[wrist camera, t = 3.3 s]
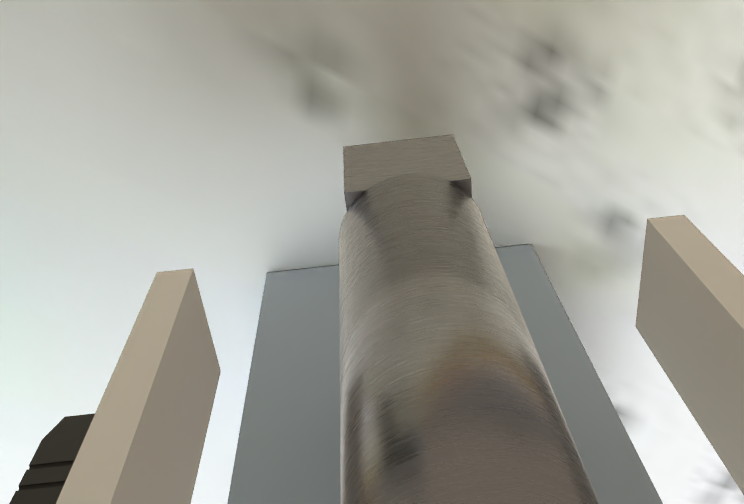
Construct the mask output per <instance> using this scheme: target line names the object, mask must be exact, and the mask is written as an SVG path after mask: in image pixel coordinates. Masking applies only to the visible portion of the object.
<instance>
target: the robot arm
mask: <svg viewBox="0 0 744 504" xmlns="http://www.w3.org/2000/svg"><path fill="white" fill-rule="evenodd" d="M636 328H637V329H638V331H639V333H640V334H641V336H642V337H643V339H644V340H645V342H646V343H647V345H648V347H649V348H650V350H651V351H652V353H653V354H654V356H655V357H656V359H657V361H658V362H659V364H660V365H661V367H662V368H663V370H664V372H665V373H666V375H667V376H668V378H669V379H670V381H671V382H672V384H673V386H674V387H675V389H676V390H677V392H678V393H679V395H680V396H681V398H682V400H683V401H684V403H685V404H686V406H687V407H688V409H689V410H690V412H691V414H692V415H693V417H694V418H695V420H696V421H697V423H698V424H699V426H700V428H701V429H702V431H703V432H704V434H705V435H706V437H707V438H708V440H709V442H710V443H711V445H712V446H713V448H714V449H715V451H716V453H717V454H718V456H719V457H720V459H721V460H722V462H723V463H724V465H725V467H726V468H727V470H728V471H729V473H730V474H731V476H732V477H733V479H734V481H735V482H736V484H737V485H738V487H739V488H740V490H741V491H742V493H743V495H744V275H743V274H742V273H741V272H740V271H739V270H738V269H737V268H736V267H735V266H734V265H733V264H732V263H731V262H730V261H729V260H728V259H727V258H726V257H725V256H724V255H723V254H722V253H721V252H720V251H719V250H718V249H717V248H716V247H715V246H714V245H713V244H712V243H711V242H710V241H709V240H708V239H707V238H706V237H705V236H704V235H703V234H702V233H701V232H700V231H699V229H698V228H697V227H696V226H695V225H694V224H693V223H692V222H691V221H690V220H689V219H688V218H687V217H686V216H685V215H678V216H669V217H660V218H651V219H647V226H646V235H645V245H644V254H643V263H642V272H641V281H640V290H639V299H638V308H637V317H636ZM219 376H220V367H219V363H218V359H217V356H216V352H215V348H214V344H213V341H212V337H211V333H210V330H209V326H208V322H207V318H206V315H205V311H204V307H203V303H202V300H201V296H200V292H199V288H198V285H197V281H196V277H195V273H194V270H193V269H184V270H175V271H165V272H157V273H156V276H155V278H154V280H153V283H152V285H151V287H150V289H149V292H148V294H147V296H146V299H145V301H144V303H143V305H142V308H141V310H140V312H139V315H138V317H137V319H136V321H135V324H134V326H133V328H132V331H131V333H130V335H129V337H128V340H127V342H126V344H125V347H124V349H123V351H122V353H121V356H120V358H119V360H118V363H117V365H116V367H115V369H114V372H113V374H112V376H111V379H110V381H109V383H108V385H107V388H106V390H105V392H104V395H103V397H102V399H101V402H100V404H99V406H98V408H97V411H96V413H95V414H87V415H78V416H68V417H64V418H63V419H62V420H61V421H60V422H59V423H58V424H57V425H56V426H55V427H54V428H53V429H52V430H51V431H50V432H49V433H48V434H47V435H46V436H45V437H44V438H43V439H42V441H41V443H40V445H39V447H38V449H37V451H36V453H35V455H34V457H33V459H32V461H31V462H30V464H29V466H30V468H29V470H26V472H25V474H24V476H23V478H22V480H21V482H20V484H19V491H16V492H15V494H14V496H13V498H12V500H11V502H10V504H190V503H191V499H192V494H193V490H194V485H195V481H196V477H197V472H198V468H199V463H200V459H201V455H202V450H203V446H204V442H205V437H206V433H207V428H208V424H209V420H210V415H211V411H212V406H213V402H214V398H215V393H216V389H217V384H218V380H219Z"/></svg>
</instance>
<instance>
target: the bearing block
mask: <svg viewBox="0 0 744 504" xmlns="http://www.w3.org/2000/svg"><path fill="white" fill-rule="evenodd" d="M495 249H496V252H497V254H498V257H499V259H500V262H501V264H502V267H503V269H504V271H505V274H506V276H507V279H508V281H509V284H510V286H511V289H512V291H513V294H514V296H515V298H516V301H517V303H518V306H519V308H520V311H521V313H522V316H523V318H524V320H525V323H526V325H527V328H528V330H529V333H530V335H531V338H532V340H533V342H534V345H535V347H536V350H537V352H538V355H539V357H540V360H541V362H542V364H543V367H544V369H545V372H546V374H547V377H548V379H549V382H550V384H551V386H552V389H553V391H554V394H555V396H556V399H557V401H558V404H559V406H560V409H561V411H562V413H563V416H564V418H565V421H566V423H567V426H568V428H569V431H570V433H571V435H572V438H573V440H574V443H575V445H576V448H577V450H578V453H579V455H580V457H581V460H582V462H583V465H584V467H585V470H586V472H587V475H588V477H589V479H590V482H591V484H592V487H593V489H594V492H595V494H596V497H597V499H598V501H599V504H663V503H662V501H661V499H660V497H659V495H658V493H657V491H656V489H655V487H654V485H653V483H652V481H651V479H650V477H649V475H648V473H647V471H646V469H645V467H644V465H643V463H642V462H641V460H640V458H639V456H638V454H637V452H636V450H635V448H634V446H633V444H632V442H631V440H630V438H629V436H628V434H627V432H626V430H625V428H624V426H623V424H622V422H621V420H620V418H619V416H618V414H617V412H616V410H615V408H614V406H613V404H612V402H611V400H610V398H609V396H608V395H607V393H606V391H605V389H604V387H603V385H602V383H601V381H600V379H599V377H598V375H597V373H596V371H595V369H594V367H593V365H592V363H591V361H590V359H589V357H588V355H587V353H586V351H585V349H584V347H583V345H582V343H581V341H580V339H579V337H578V335H577V333H576V331H575V329H574V328H573V326H572V324H571V322H570V320H569V318H568V316H567V314H566V312H565V310H564V308H563V306H562V304H561V302H560V300H559V298H558V296H557V294H556V292H555V290H554V288H553V286H552V284H551V282H550V280H549V278H548V276H547V274H546V272H545V270H544V268H543V266H542V264H541V262H540V261H539V259H538V257H537V255H536V253H535V251H534V249H533V247H532V245H531V244H527V245H518V246H509V247H500V248H495ZM228 504H341V485H340V320H339V265H335V266H325V267H316V268H307V269H298V270H289V271H280V272H270V273H267V274H266V280H265V286H264V292H263V298H262V304H261V309H260V315H259V321H258V327H257V333H256V339H255V345H254V351H253V357H252V362H251V368H250V374H249V380H248V386H247V392H246V398H245V404H244V410H243V415H242V421H241V427H240V433H239V439H238V445H237V451H236V457H235V463H234V468H233V474H232V480H231V486H230V492H229V498H228Z"/></svg>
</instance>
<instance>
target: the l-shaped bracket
mask: <svg viewBox="0 0 744 504" xmlns="http://www.w3.org/2000/svg"><path fill="white" fill-rule="evenodd" d="M343 154H344V193H345V201H346V208H347V213H346V214H345V217H344V219H343V222H342V225H341V229H340V235H339V320H340V485H341V504H599V501H598V499H597V497H596V494H595V492H594V489H593V487H592V484H591V482H590V479H589V477H588V475H587V472H586V470H585V467H584V465H583V462H582V460H581V457H580V455H579V453H578V450H577V448H576V445H575V443H574V440H573V438H572V435H571V433H570V431H569V428H568V426H567V423H566V421H565V418H564V416H563V413H562V411H561V409H560V406H559V404H558V401H557V399H556V396H555V394H554V391H553V389H552V386H551V384H550V382H549V379H548V377H547V374H546V372H545V369H544V367H543V364H542V362H541V360H540V357H539V355H538V352H537V350H536V347H535V345H534V342H533V340H532V338H531V335H530V333H529V330H528V328H527V325H526V323H525V320H524V318H523V316H522V313H521V311H520V308H519V306H518V303H517V301H516V298H515V296H514V294H513V291H512V289H511V286H510V284H509V281H508V279H507V276H506V274H505V271H504V269H503V267H502V264H501V262H500V259H499V257H498V254H497V252H496V249H495V247H494V245H493V242H492V240H491V237H490V235H489V232H488V230H487V227H486V225H485V223H484V220H483V218H482V215H481V213H480V210H479V208H478V207H477V205H476V203H475V202H474V200H473V199H472V194H471V177H470V175H469V173H468V170H467V168H466V165H465V163H464V161H463V158H462V156H461V154H460V151H459V149H458V147H457V144H456V142H455V139H454V137H453V135H445V136H435V137H426V138H417V139H408V140H399V141H390V142H381V143H372V144H363V145H354V146H345V147H343Z"/></svg>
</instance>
